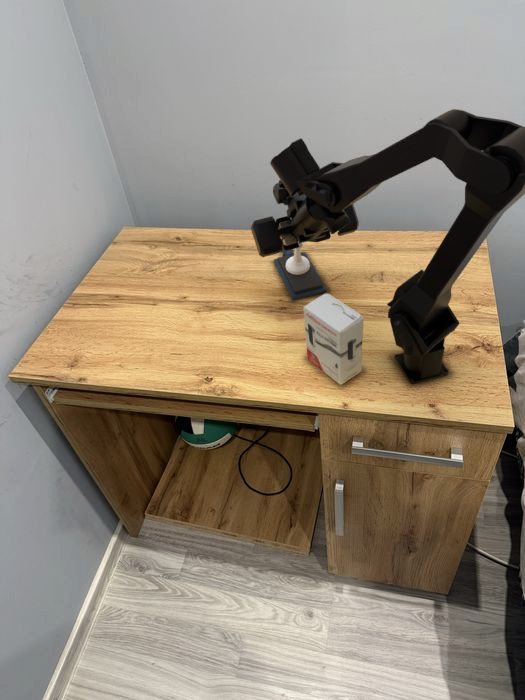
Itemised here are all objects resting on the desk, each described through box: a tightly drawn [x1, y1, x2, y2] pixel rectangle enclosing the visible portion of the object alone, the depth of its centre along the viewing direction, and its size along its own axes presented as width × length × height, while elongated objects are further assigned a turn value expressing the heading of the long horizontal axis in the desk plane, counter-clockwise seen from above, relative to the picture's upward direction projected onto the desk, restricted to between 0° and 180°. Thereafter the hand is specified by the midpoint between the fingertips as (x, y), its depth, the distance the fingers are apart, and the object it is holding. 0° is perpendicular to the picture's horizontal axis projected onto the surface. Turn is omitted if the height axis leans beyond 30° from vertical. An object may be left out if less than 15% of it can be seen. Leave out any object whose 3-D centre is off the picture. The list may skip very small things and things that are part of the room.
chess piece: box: [286, 242, 310, 275], centre depth 97 cm, size 5×5×10 cm
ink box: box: [302, 292, 364, 386], centre depth 79 cm, size 8×5×12 cm, turn 37°
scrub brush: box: [273, 247, 328, 301], centre depth 104 cm, size 21×7×2 cm, turn 14°
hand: (294, 239), depth 97 cm, fingers closed on chess piece
